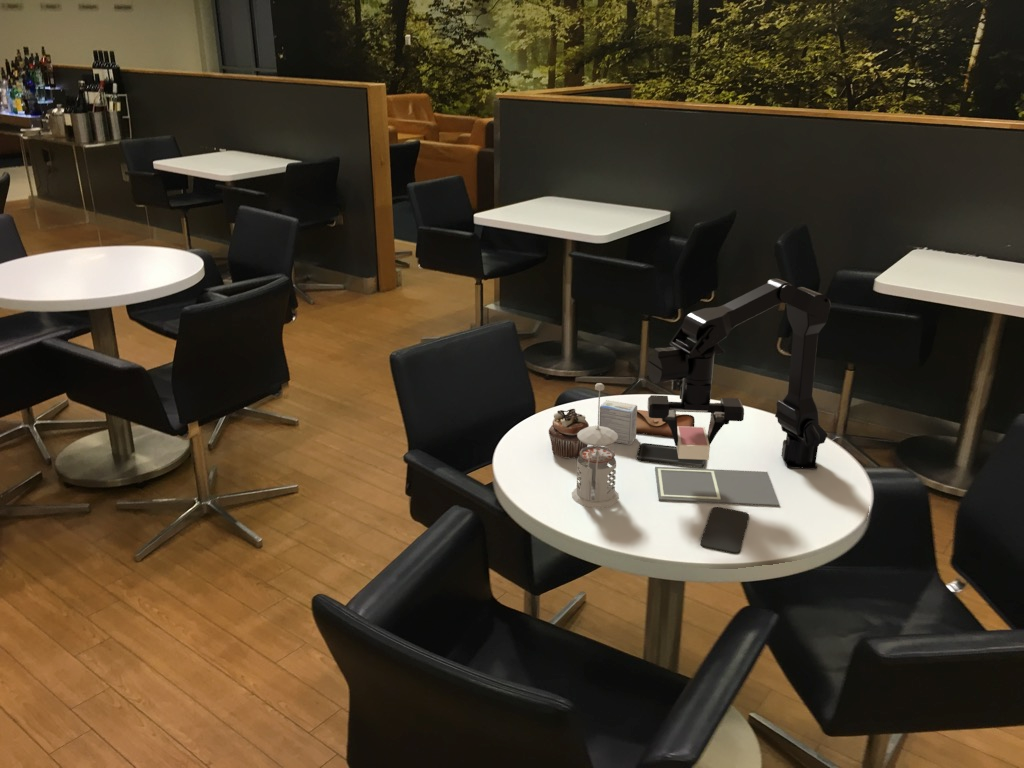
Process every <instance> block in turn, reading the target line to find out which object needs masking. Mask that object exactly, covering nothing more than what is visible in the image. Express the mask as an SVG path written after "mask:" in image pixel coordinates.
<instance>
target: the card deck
mask: <svg viewBox="0 0 1024 768" xmlns="http://www.w3.org/2000/svg"><path fill="white" fill-rule="evenodd" d="M677 430H678V444H677V446H675V447H677V453H678V458H679V459H700V460H705V461H710V460H709V459H710V450H711V444H710V445H709V441H708V437H707V434H708V432H707V429H706V426H705V427H704V426H703V427H702V426H694V427H683V426H677Z"/></svg>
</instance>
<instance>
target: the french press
mask: <svg viewBox="0 0 1024 768" xmlns="http://www.w3.org/2000/svg"><path fill="white" fill-rule="evenodd" d="M594 390H595V391H598V406H597V407H598V411H597V425H591V426H589V427H587V428H585V429H582V430H580V431H579V432H578V434H577V436H578V439H579V440H580V441H581V442H583V443H585V444H587V445H588V446H587V447H585V448H583V449H581V451H580V452H579V455H580V456H579V457H577V462H576V464H577V466H576V467H577V468H576V487H575V488H574V489H573V491H572V492H571V499H572V500H573V501H574V502H576V503H577V504H579V505H582V506H584V507H588V508H592V509H593V508H595V509H597V508H598V509H599V508H600V509H601V508H607V507H611V506H613V505H615V504H616V503H617V502H618V501H619V499H620V496H619V492H618V491H617V490H616V486H615V485H616V481H615V480H616V473H617V472H616V468H617V460H616V458H615V456H616V455H615V454H616V453H615V452H614V451H613V450H612V449H611V448H609V447H606V446H609V445H611V444H614V443H616V442H615V441H616V440H617V438H618V435H617V433H616V432H615V431H613V430H611V429H610V428H608V427H602V426H599V419H600V406H601V405H600V402H601V391H604V390H605V385H604V384H603V383H601V382H597V383H596V384H595V386H594ZM585 463H587V464H585ZM582 464H585V465H582ZM608 464H609V465H610V466H609V465H608Z"/></svg>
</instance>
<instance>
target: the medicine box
mask: <svg viewBox="0 0 1024 768" xmlns="http://www.w3.org/2000/svg"><path fill="white" fill-rule="evenodd" d="M637 410H638V405H637V404H633V403H627V402H622V401H615V400H610V399H605V401H603V403H602V404H601V405H600V407H599V426H602V427H608V428H610V429H611V430H613V431H615V432H616V433H617V435H618V438H617V440H616V441H615V442H614V443H619V444H624V445H629V446H630V445H633V443H634V441H635V440H636V438H637V434H636V424H637Z"/></svg>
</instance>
